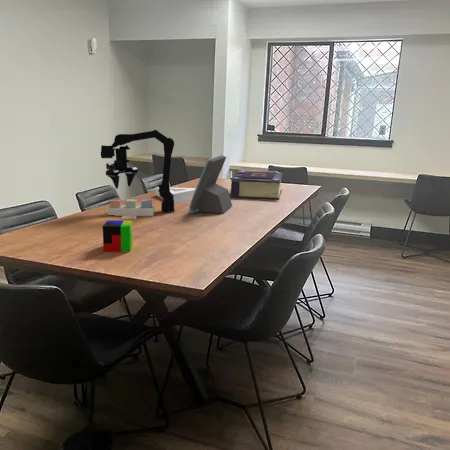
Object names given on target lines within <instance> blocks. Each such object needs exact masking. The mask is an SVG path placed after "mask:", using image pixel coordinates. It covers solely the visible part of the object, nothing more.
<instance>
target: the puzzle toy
mask: <svg viewBox="0 0 450 450" xmlns="http://www.w3.org/2000/svg"><path fill="white" fill-rule="evenodd" d="M133 230H134V228H133V220H106V221H105V222H104V224H103V225H102V242H103V243H102V244H103V248H102V249H103V252H104V253H105V252H106V253H107V252H108V253H109V252H110V253H111V252H113V253H117V252H118V253H119V252H120V253H121V252H122V253H123V252H125V253H128V252H131V251H132V248H133V246H134V237H133V236H134V235H133Z"/></svg>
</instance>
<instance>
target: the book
mask: <svg viewBox="0 0 450 450" xmlns="http://www.w3.org/2000/svg"><path fill="white" fill-rule="evenodd" d="M283 174H284V173H283V172H268V171H267V172H266V171H265V172H263V171H262V172H261V171H248V170H246V171H245V170H239V171H238V172H237V173H236V174H235V175H233V177H231V179H230V182H231V183H230V195H231V196H230V198H235V199H237V198H238V199H252V200H253V199H258V200H277V201H280V197H281V193H282V189H283V188H282V184H281V182H282V178H283V176H284V175H283Z"/></svg>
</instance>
